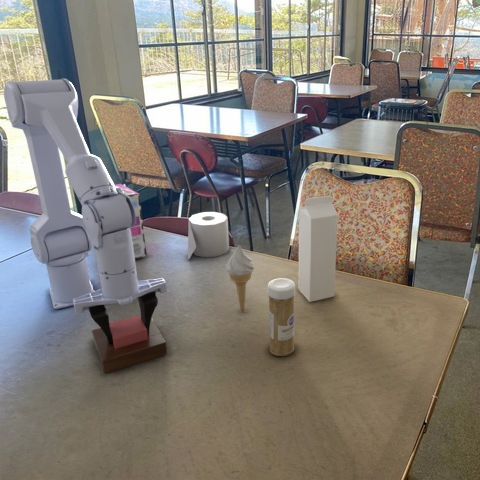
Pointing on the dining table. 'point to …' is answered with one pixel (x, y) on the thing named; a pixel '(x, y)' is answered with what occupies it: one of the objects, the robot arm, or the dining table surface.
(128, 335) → the back pad
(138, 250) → the candy bar box
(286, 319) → the sprinkles bottle
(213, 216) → the toilet tissue
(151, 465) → the dining table surface
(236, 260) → the ice cream cone
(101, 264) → the robot arm
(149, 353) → the block
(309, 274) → the milk
